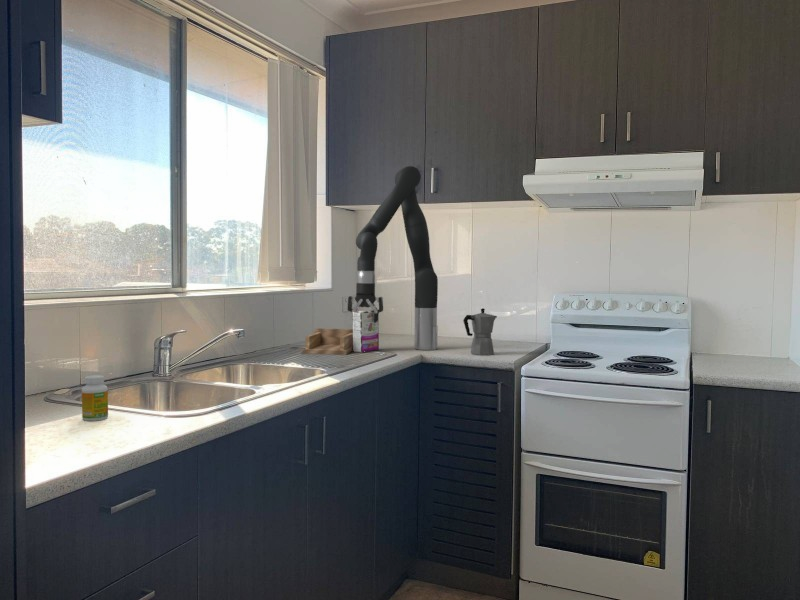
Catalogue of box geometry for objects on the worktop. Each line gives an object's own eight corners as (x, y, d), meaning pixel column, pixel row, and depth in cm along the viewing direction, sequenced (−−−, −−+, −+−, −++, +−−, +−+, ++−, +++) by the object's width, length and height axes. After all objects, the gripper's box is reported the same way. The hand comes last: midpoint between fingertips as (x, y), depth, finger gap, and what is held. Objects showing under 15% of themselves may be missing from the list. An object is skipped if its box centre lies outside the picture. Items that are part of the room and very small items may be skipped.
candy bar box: (369, 349, 277) (369, 309, 276) (379, 350, 274) (379, 310, 273) (351, 351, 268) (351, 310, 267) (361, 352, 265) (361, 311, 264)
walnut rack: (357, 348, 278) (357, 329, 278) (346, 354, 260) (346, 334, 259) (315, 347, 281) (315, 328, 281) (301, 353, 263) (301, 333, 262)
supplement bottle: (95, 422, 150) (94, 379, 149) (76, 420, 152) (75, 377, 151) (113, 417, 155) (112, 375, 154) (95, 415, 157) (94, 373, 156)
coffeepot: (489, 351, 271) (489, 307, 270) (503, 354, 263) (503, 308, 262) (456, 353, 264) (457, 308, 263) (470, 356, 256) (470, 309, 255)
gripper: (384, 282, 272) (384, 322, 273) (350, 281, 275) (350, 320, 276) (381, 282, 265) (380, 323, 266) (346, 282, 267) (345, 322, 268)
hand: (365, 322), depth 271 cm, fingers open, 8 cm apart
